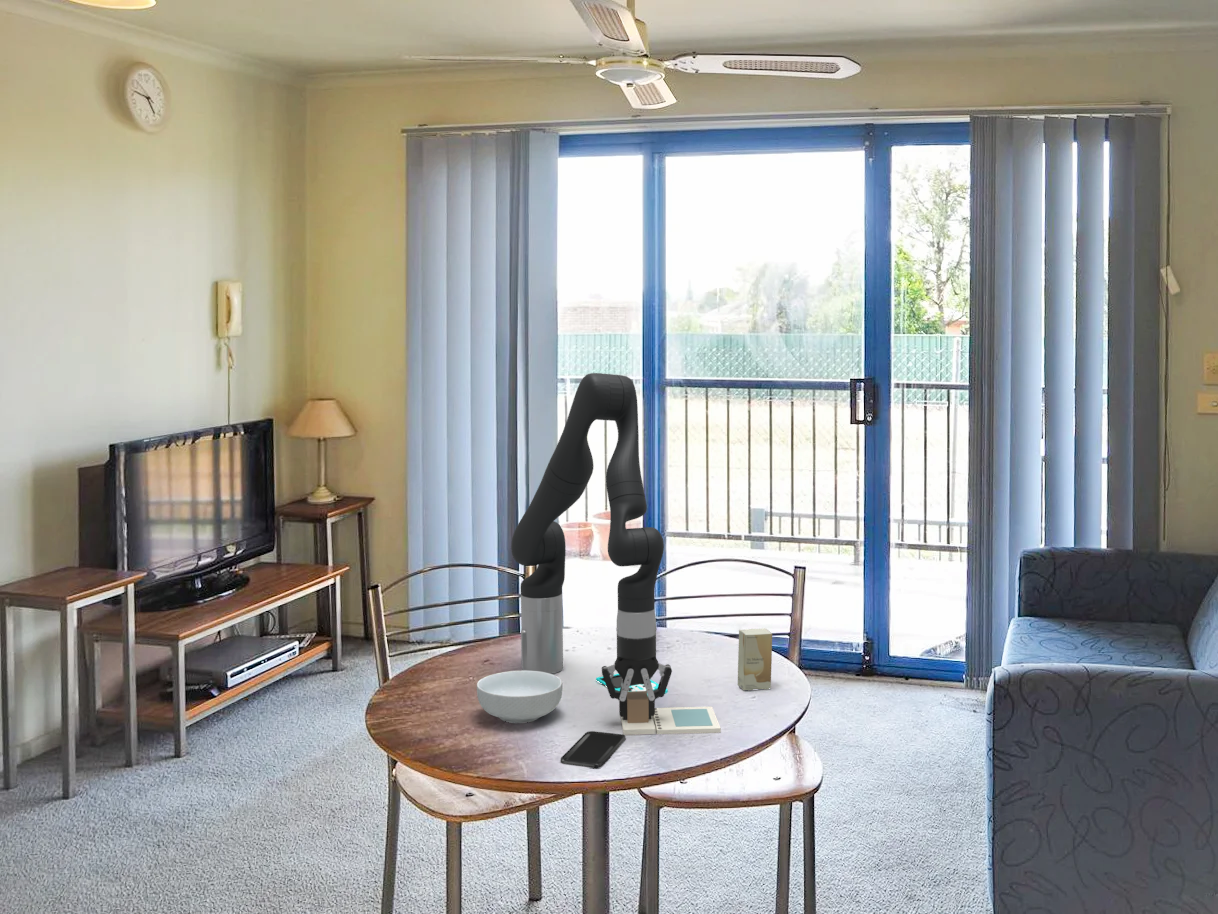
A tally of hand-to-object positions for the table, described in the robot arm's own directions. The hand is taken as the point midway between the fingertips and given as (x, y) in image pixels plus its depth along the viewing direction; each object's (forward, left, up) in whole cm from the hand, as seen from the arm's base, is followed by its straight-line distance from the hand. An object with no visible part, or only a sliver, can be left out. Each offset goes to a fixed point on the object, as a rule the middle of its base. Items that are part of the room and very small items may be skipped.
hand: (636, 717), depth 215 cm
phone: (-9, -13, -2) cm, 16 cm away
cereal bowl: (-23, +6, -2) cm, 23 cm away
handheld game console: (+1, +22, -2) cm, 22 cm away
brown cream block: (0, 0, -1) cm, 1 cm away
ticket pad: (+9, 0, -1) cm, 9 cm away
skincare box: (+26, +20, -2) cm, 33 cm away
